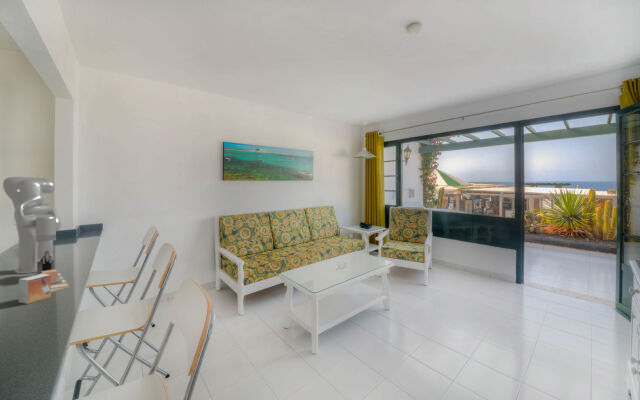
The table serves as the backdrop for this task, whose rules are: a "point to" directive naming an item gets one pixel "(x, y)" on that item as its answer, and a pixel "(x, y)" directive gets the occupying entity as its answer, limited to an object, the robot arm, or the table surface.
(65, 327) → the table surface
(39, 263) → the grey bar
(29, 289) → the small box
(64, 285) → the board
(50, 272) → the cube
